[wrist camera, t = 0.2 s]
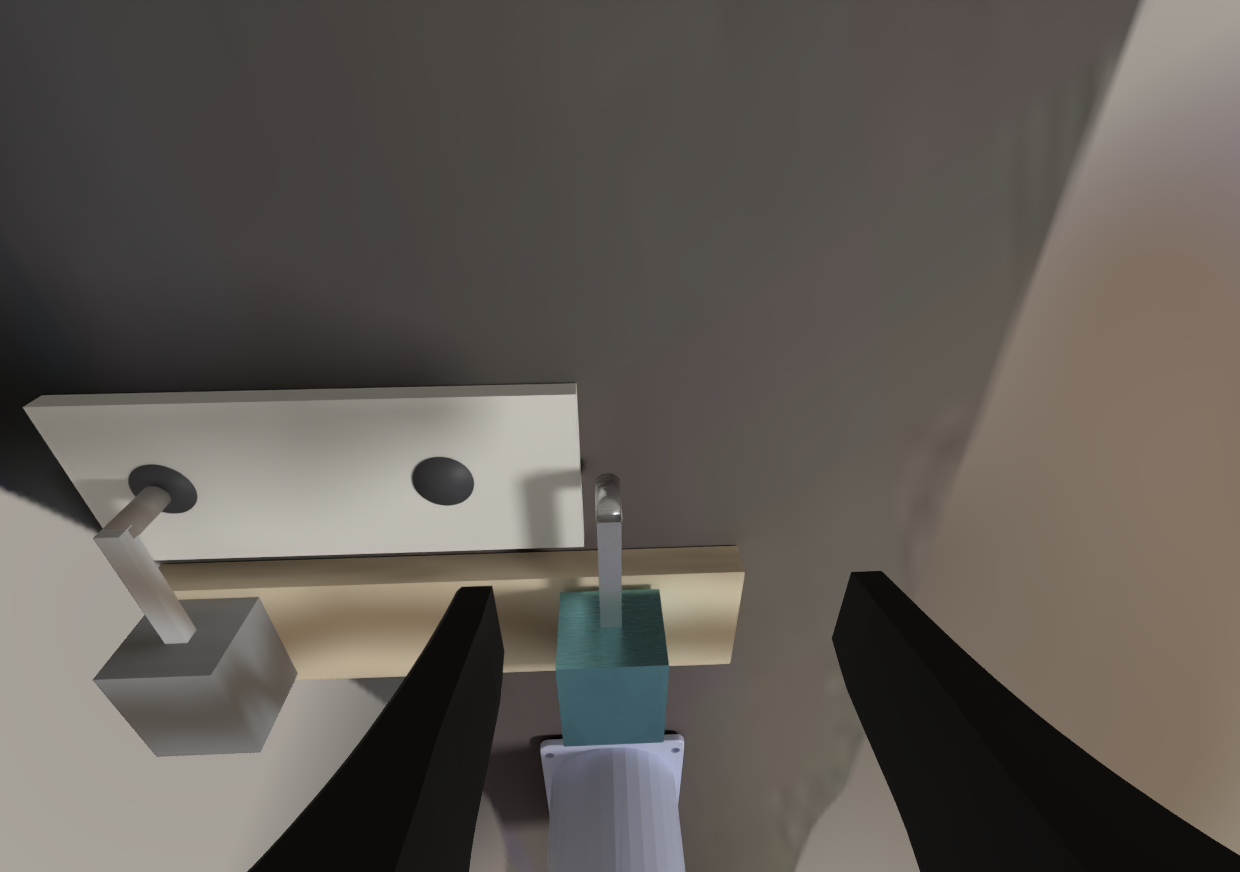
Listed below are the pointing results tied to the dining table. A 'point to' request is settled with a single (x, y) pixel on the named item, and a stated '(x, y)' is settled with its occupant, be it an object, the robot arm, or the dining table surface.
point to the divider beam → (355, 623)
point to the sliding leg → (611, 647)
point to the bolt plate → (329, 467)
